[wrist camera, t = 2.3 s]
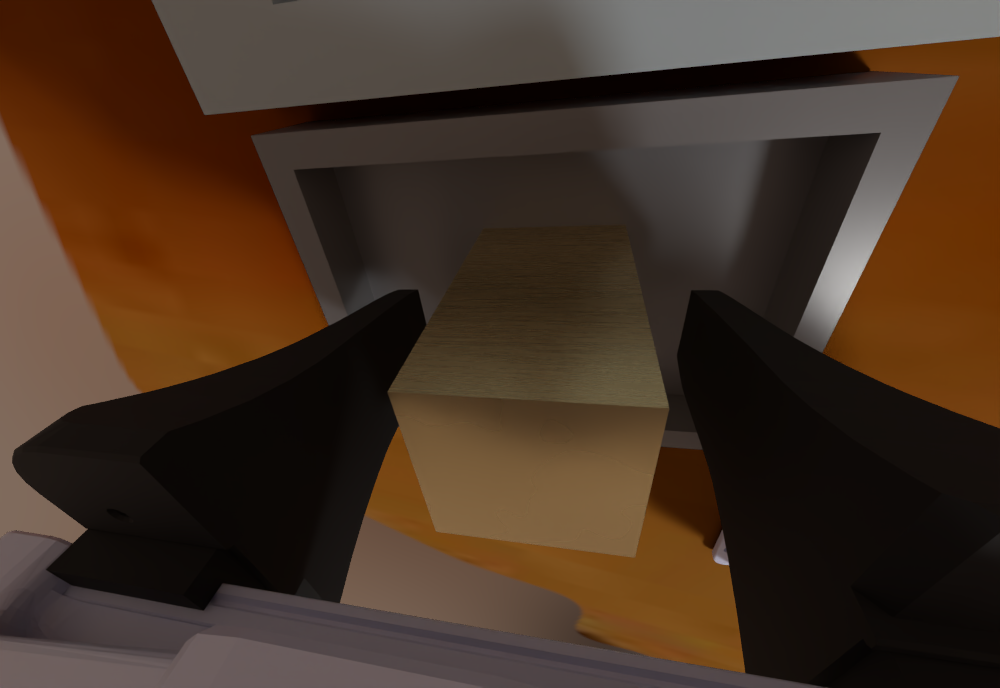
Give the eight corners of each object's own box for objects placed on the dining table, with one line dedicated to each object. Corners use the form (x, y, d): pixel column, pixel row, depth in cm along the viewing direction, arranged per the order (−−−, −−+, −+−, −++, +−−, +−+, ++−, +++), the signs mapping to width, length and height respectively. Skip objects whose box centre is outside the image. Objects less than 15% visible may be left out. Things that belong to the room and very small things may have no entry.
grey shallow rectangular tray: (745, 400, 14) (771, 455, 12) (394, 381, 17) (369, 424, 15) (872, 71, 9) (959, 76, 7) (309, 121, 11) (250, 135, 9)
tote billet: (613, 343, 13) (635, 557, 7) (496, 339, 14) (436, 531, 8) (625, 224, 11) (669, 408, 5) (483, 228, 11) (387, 391, 6)
